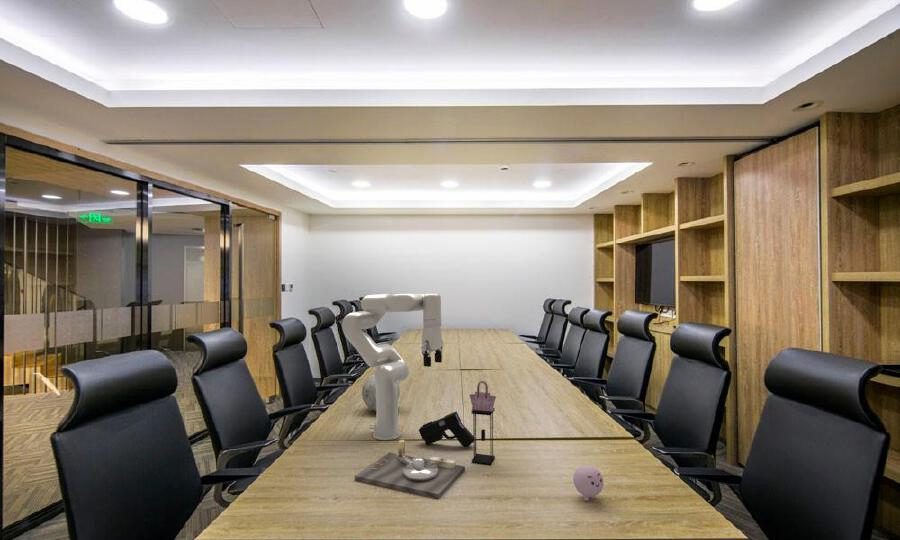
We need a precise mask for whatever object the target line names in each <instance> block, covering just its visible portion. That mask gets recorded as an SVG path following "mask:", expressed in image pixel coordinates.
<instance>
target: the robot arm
mask: <svg viewBox="0 0 900 540" xmlns="http://www.w3.org/2000/svg"><path fill="white" fill-rule="evenodd" d="M441 297H442V296H441V295H440V294H439V293H423V292H414V293H412V292H411V293H396V294H394V293H392V292H390V293H389V292H388V293H387V292H386V293H371V294H367V295H366V296H364V297H363V298H362V299H361V302H360V306H361V309H362V311H353V312H349V313H348V314H346V315H345V316H344V317H343V320H342V323H341V324H342V325H341V326H342V328H341V329H342V332H343V335H344V336H345V338H346V339H347V341H348V342H349V343H350V344H351V345H352V346H353V347H354V348H355V350H356V352H357V353H358V354H359V356H360V357H361V358H362V359H363V361H364V362H365V363H366V365H367V366H368V367H371V368H376V369H375V370H374V373H373V374H374V380H375V385H376V411H375V412H376V416H375V417H376V420H375V421H376V423H374V422H371V423H370V425H369V429H370V430H374V432H372V437H373V439H375V440H379V441H392V440H396V439H399V438H400V437H402V434H403V433H402V430H400V429H399V398H398V393H397V390H396V387H395V383H398V384H399V383H400V382H404V381H405V380H406V379H407V378H408V377H409V374H410V370H409V366H408V364H407V363H406V361H405V360H404V358H402V356H401V355H400V353H398V351H397V350H396V348H395V347H393V346H392V345H391V344H388V343H380V344H377V343H376V342H375V341H374V340H373V338H372V337H371V336H370V335H369V334H368V333H366V332H365V331H363V330H367V329H372V328H374V327H375V326H377V325H378V324H379V323H380V321H381V320H382V318H383V317H384V316H385V314H386V313H399V312H400V313H402V312H403V313H407V312H409V313H410V312H416V311H417V312H418V311H422V322H423V323H422V324H423V326H422V334H421V347H420V349H421V353H422V357H423V359H422V360H423V367H429V368H430V367H432V357H431V354H432V352H434V363H443V354H442V353H443V348H444V347H443V346H444V341H443V339H442V338H443V337H442V328H441V327H442V299H441Z"/></svg>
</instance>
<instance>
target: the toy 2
mask: <svg viewBox="0 0 900 540" xmlns="http://www.w3.org/2000/svg"><path fill="white" fill-rule="evenodd" d="M572 481H573V486H574V487H575V489H576V491H577V492H578V493H579V494H580V495H582V497H583V501H585V502H588V501H589V499H592V500H594V499H596V496H598V495H599V494H600V493H601V492H602V491H603V487H604V478H603V475H602V474H601V472H600V471H599V469H598V468H596V467H595V466H594V465H590V464H583V465H580V466H578V467H577V468H576V469H575V471H574V473H573V476H572Z"/></svg>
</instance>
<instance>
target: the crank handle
mask: <svg viewBox="0 0 900 540" xmlns="http://www.w3.org/2000/svg"><path fill="white" fill-rule="evenodd" d="M397 449H398V451H397V453H395V454H396V457H397V458H399V459H400V461H401V462H402V463H404V464H405V465H406V466H405V467H404V470H403V471H404V477H405V478H407V479H409V480H412V481H427V480H431V479H433V478H435V477H436V476H437V475H438V466H437V465H435V464H433V463H430V462H424V459H425V457H424V456H421V455H420V456H413V457H414V458H413V461H411V460H410V459H408V458H406V457H405V455H406V440H405V439H399V440H398V448H397Z"/></svg>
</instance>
